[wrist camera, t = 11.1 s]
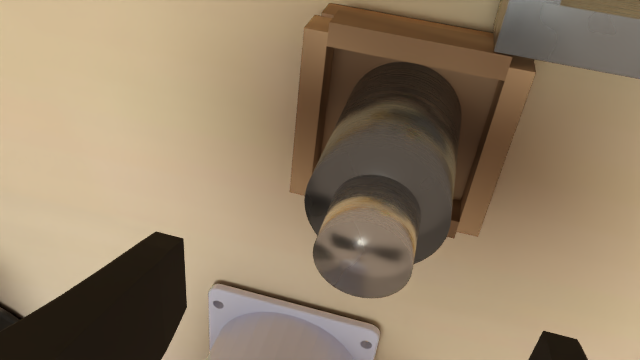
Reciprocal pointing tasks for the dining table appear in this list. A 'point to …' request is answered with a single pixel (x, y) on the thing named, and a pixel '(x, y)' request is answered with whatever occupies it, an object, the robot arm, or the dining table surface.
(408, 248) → the grey knob
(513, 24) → the socket block
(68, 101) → the dining table surface
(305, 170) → the brown square tray
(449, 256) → the dining table surface
